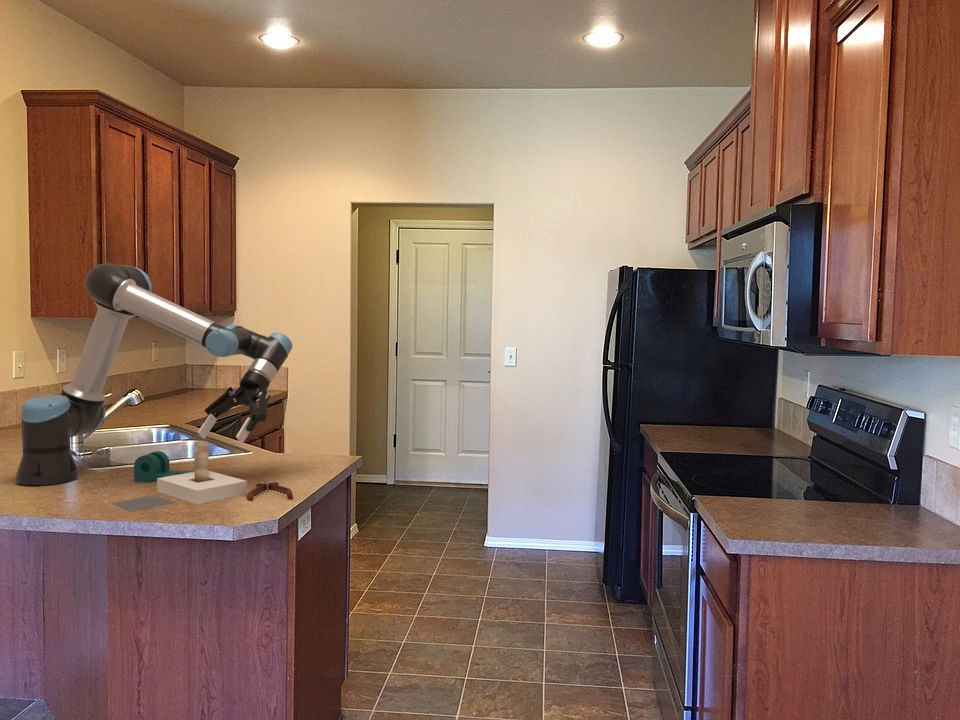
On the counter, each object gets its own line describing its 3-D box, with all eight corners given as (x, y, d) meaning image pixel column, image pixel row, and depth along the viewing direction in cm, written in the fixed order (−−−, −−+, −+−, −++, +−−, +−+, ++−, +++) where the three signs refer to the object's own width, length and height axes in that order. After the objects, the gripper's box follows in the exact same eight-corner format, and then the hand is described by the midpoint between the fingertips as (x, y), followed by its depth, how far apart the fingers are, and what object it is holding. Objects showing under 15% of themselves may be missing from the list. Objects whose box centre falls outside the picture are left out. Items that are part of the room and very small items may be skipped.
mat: (110, 505, 176) (110, 503, 176) (154, 497, 185) (154, 495, 185) (132, 513, 169) (131, 511, 169) (176, 504, 178) (176, 502, 178)
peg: (192, 494, 188) (191, 442, 187) (204, 492, 191) (203, 440, 190) (199, 496, 186) (198, 443, 185) (211, 494, 188) (211, 442, 188)
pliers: (286, 483, 203) (286, 474, 203) (293, 501, 184) (293, 491, 184) (244, 487, 199) (244, 477, 199) (247, 505, 180) (247, 495, 180)
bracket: (134, 482, 201) (133, 455, 200) (147, 477, 208) (147, 450, 207) (195, 485, 199) (194, 457, 199) (206, 479, 206) (206, 452, 205)
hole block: (157, 493, 189) (157, 478, 189) (205, 483, 200) (205, 469, 199) (197, 506, 176) (197, 490, 176) (246, 495, 187) (246, 480, 187)
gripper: (299, 389, 202) (263, 450, 190) (231, 384, 213) (193, 441, 200) (286, 371, 197) (248, 433, 185) (218, 367, 207) (178, 425, 195)
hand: (219, 437), depth 192 cm, fingers open, 13 cm apart
